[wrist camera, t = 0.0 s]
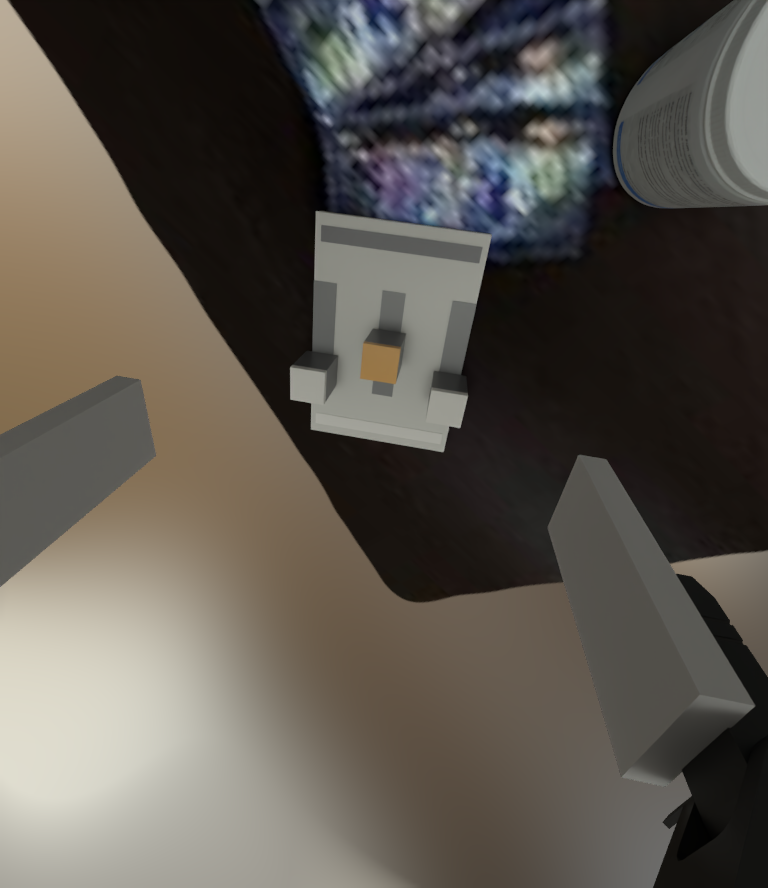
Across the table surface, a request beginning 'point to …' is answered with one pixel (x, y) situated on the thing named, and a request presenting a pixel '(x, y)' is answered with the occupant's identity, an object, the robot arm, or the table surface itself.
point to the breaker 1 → (313, 377)
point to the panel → (392, 319)
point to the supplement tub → (701, 117)
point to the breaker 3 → (447, 399)
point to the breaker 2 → (382, 356)
